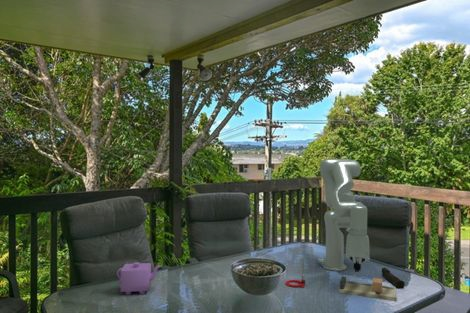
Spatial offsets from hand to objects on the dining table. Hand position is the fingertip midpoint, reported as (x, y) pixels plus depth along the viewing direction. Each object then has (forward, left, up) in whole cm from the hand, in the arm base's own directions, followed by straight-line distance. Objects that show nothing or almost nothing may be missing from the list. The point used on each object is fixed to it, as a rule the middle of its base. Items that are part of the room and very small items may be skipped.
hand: (357, 271), depth 164 cm
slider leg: (+9, -1, -7) cm, 11 cm away
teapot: (-91, -41, -9) cm, 100 cm away
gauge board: (+4, -1, -9) cm, 10 cm away
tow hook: (-28, -5, -9) cm, 29 cm away
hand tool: (+14, +18, -9) cm, 25 cm away
